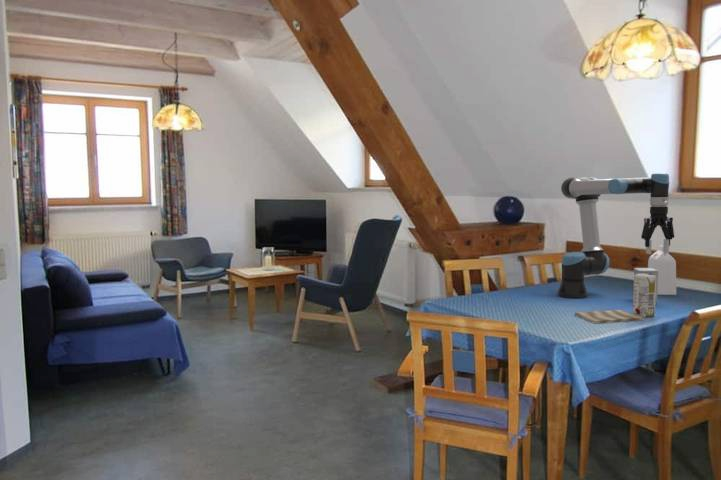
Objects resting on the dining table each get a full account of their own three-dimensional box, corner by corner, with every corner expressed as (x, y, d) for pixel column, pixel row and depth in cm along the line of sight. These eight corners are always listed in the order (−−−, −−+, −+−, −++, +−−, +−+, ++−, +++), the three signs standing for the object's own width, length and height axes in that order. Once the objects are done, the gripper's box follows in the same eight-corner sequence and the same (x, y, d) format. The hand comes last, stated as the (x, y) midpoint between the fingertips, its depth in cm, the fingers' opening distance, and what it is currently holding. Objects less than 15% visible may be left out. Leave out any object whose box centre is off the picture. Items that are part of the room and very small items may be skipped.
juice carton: (644, 318, 253) (645, 276, 251) (630, 313, 262) (631, 273, 260) (657, 316, 256) (659, 275, 254) (643, 312, 264) (644, 272, 262)
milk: (676, 294, 301) (678, 247, 298) (653, 294, 303) (655, 247, 300) (667, 290, 313) (669, 244, 310) (645, 290, 315) (647, 244, 312)
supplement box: (657, 303, 281) (658, 270, 279) (637, 303, 283) (639, 270, 281) (651, 299, 291) (652, 267, 289) (632, 299, 292) (633, 267, 291)
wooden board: (620, 312, 265) (621, 309, 265) (643, 320, 250) (643, 317, 250) (574, 315, 261) (575, 312, 261) (595, 323, 245) (595, 320, 245)
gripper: (644, 206, 258) (642, 255, 261) (684, 205, 262) (682, 253, 265) (633, 206, 266) (632, 253, 268) (673, 205, 270) (671, 251, 272)
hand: (657, 253), depth 266 cm, fingers open, 9 cm apart
